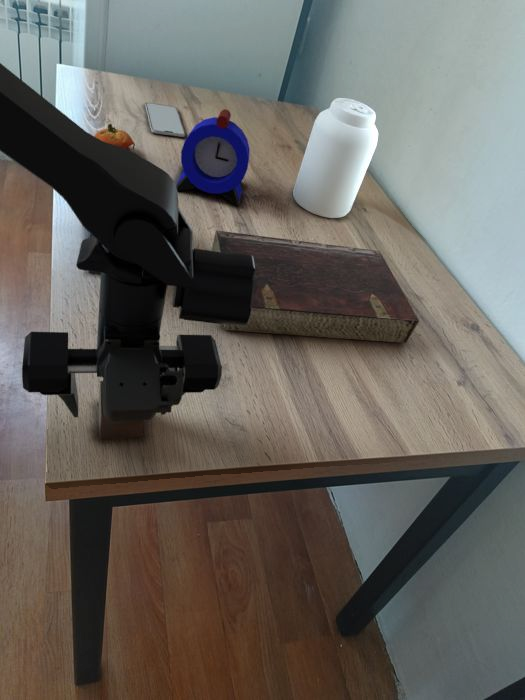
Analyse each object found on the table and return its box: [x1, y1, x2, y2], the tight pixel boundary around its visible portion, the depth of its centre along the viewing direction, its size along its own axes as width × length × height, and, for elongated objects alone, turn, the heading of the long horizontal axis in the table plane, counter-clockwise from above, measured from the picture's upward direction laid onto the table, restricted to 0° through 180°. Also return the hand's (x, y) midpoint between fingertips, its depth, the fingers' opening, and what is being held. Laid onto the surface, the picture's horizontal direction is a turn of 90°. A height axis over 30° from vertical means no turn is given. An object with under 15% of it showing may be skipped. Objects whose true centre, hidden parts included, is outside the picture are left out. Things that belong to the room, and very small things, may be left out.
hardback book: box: [211, 230, 420, 344], centre depth 84 cm, size 29×19×5 cm, turn 99°
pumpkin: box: [93, 123, 136, 151], centre depth 104 cm, size 8×7×7 cm
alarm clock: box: [175, 108, 251, 207], centre depth 100 cm, size 12×12×15 cm
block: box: [98, 380, 145, 440], centre depth 59 cm, size 4×4×4 cm
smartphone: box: [144, 102, 186, 138], centre depth 120 cm, size 7×1×15 cm
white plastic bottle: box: [292, 97, 379, 219], centre depth 104 cm, size 12×12×20 cm
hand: (120, 412), depth 59 cm, fingers open, 9 cm apart
